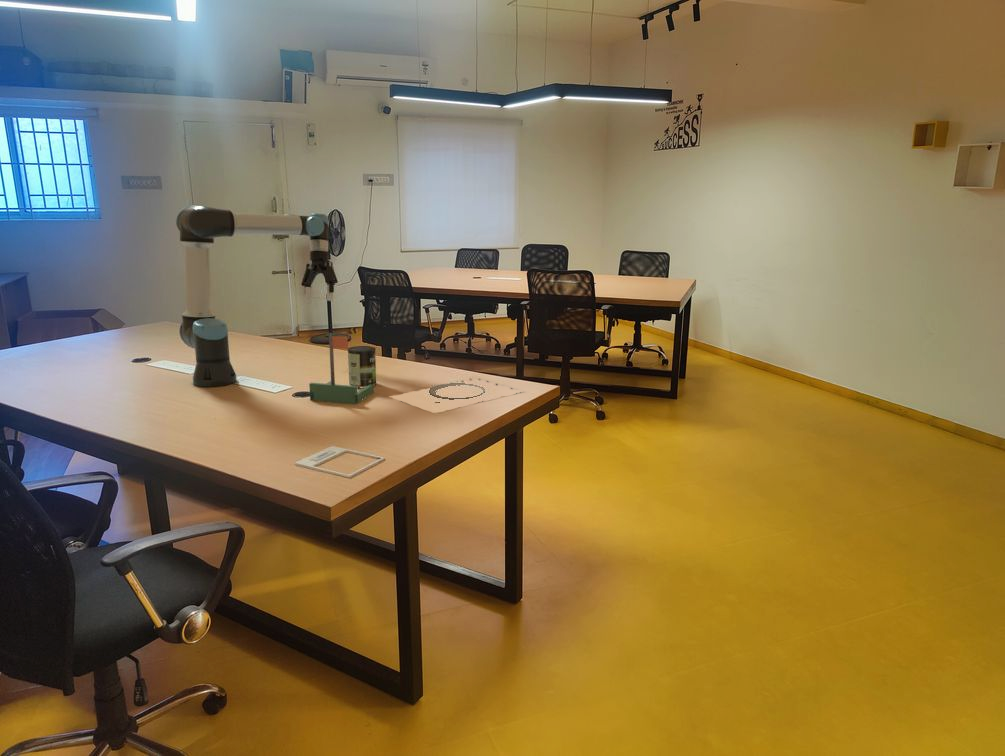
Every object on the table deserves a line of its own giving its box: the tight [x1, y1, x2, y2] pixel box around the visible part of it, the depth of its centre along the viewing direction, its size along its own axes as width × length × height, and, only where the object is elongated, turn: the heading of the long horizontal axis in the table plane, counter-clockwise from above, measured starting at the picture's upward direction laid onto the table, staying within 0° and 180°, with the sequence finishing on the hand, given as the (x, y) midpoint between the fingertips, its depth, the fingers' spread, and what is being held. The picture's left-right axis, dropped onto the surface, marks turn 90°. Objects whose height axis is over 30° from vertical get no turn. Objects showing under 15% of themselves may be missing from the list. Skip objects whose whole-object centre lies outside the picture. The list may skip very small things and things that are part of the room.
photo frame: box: [294, 445, 386, 479], centre depth 175 cm, size 15×1×18 cm
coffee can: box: [346, 345, 377, 387], centre depth 249 cm, size 10×10×14 cm
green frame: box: [308, 332, 375, 405], centre depth 232 cm, size 16×17×24 cm
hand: (319, 301), depth 280 cm, fingers open, 13 cm apart
